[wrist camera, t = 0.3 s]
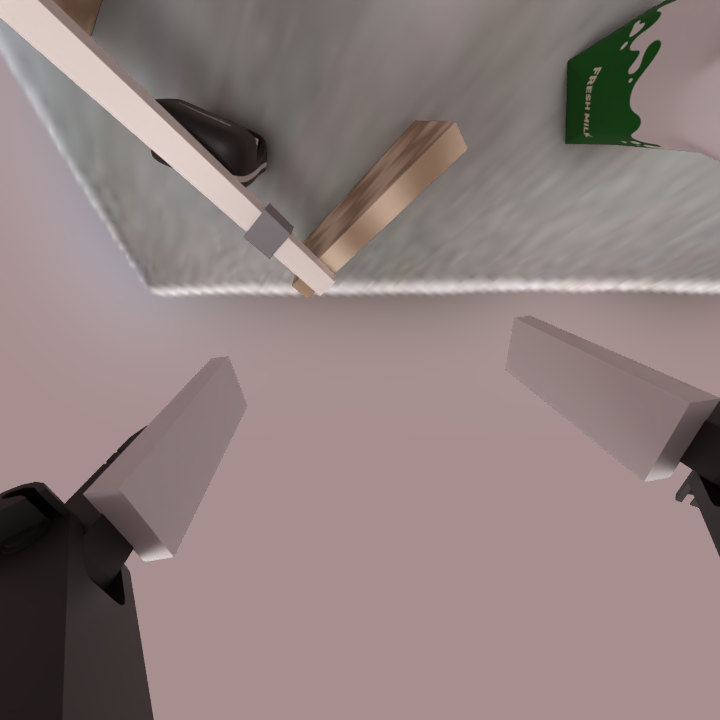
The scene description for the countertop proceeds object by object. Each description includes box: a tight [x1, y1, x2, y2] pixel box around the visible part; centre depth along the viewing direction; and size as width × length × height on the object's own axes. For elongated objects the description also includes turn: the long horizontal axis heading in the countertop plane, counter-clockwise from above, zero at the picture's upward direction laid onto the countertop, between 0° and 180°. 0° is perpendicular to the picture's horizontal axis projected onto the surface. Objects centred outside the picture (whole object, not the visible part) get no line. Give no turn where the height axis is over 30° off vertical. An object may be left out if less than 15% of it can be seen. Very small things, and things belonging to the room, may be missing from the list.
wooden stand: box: [53, 0, 468, 299], centre depth 20 cm, size 18×27×12 cm, turn 42°
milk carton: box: [566, 0, 720, 161], centre depth 19 cm, size 9×9×20 cm
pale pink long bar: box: [0, 0, 335, 296], centre depth 17 cm, size 3×27×2 cm, turn 41°
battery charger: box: [149, 99, 267, 187], centre depth 23 cm, size 7×4×11 cm, turn 69°
